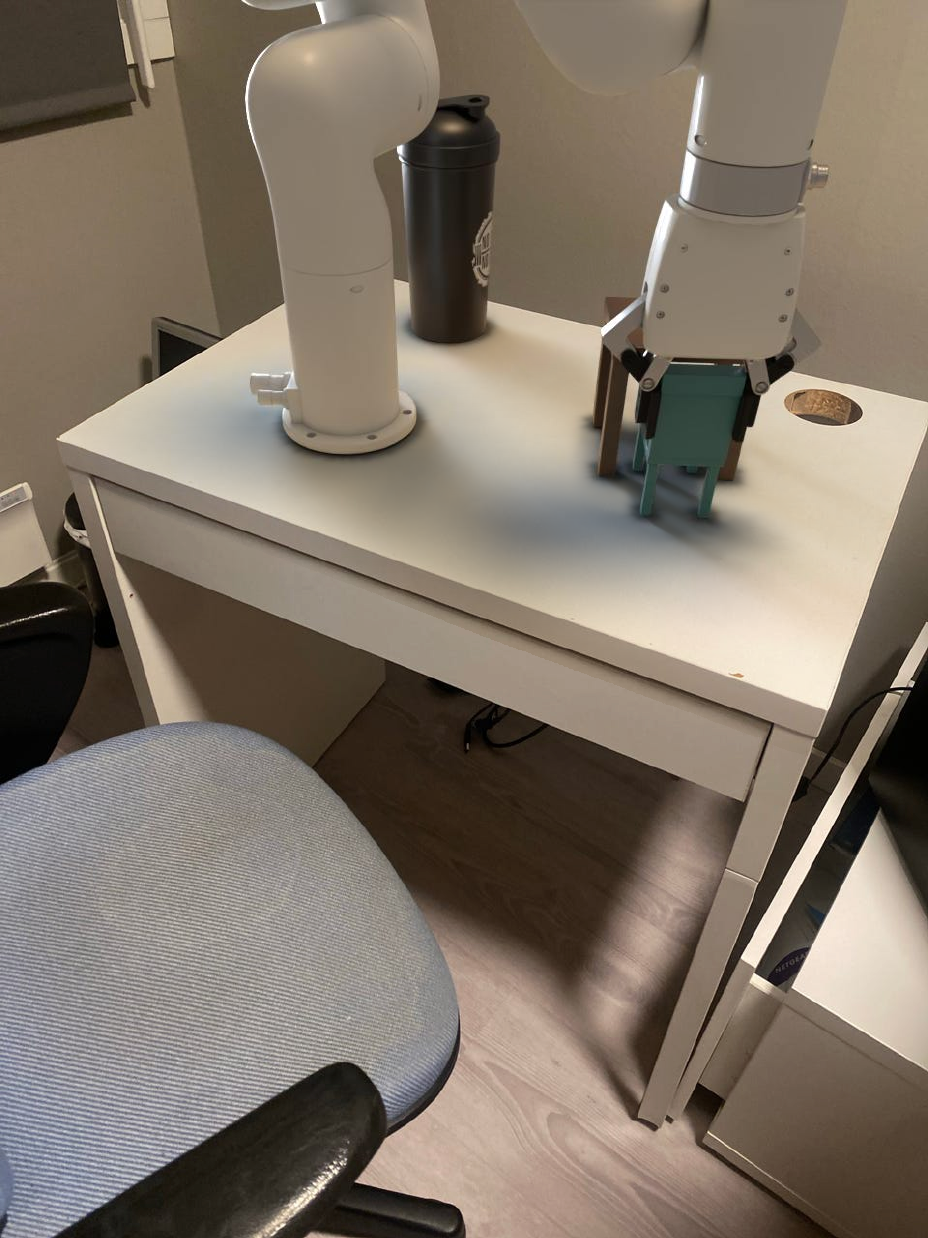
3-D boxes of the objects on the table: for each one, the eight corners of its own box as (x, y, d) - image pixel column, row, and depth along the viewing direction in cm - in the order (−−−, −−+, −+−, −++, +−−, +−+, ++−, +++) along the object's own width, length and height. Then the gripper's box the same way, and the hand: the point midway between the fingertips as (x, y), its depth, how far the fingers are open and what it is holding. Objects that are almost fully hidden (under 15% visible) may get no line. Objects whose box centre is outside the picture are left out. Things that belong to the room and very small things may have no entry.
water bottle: (484, 350, 97) (491, 111, 82) (393, 341, 99) (383, 105, 83) (500, 312, 105) (509, 87, 89) (415, 304, 106) (410, 82, 91)
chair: (712, 523, 74) (746, 376, 65) (638, 520, 74) (663, 373, 65) (697, 467, 80) (727, 327, 71) (629, 464, 80) (651, 324, 72)
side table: (597, 475, 79) (614, 346, 71) (591, 419, 86) (605, 296, 78) (735, 480, 78) (767, 351, 70) (716, 423, 86) (744, 300, 78)
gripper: (861, 168, 60) (792, 412, 72) (601, 162, 60) (576, 404, 72) (896, 204, 54) (815, 462, 66) (609, 197, 55) (580, 453, 67)
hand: (691, 430), depth 69 cm, fingers closed on chair, 6 cm apart
